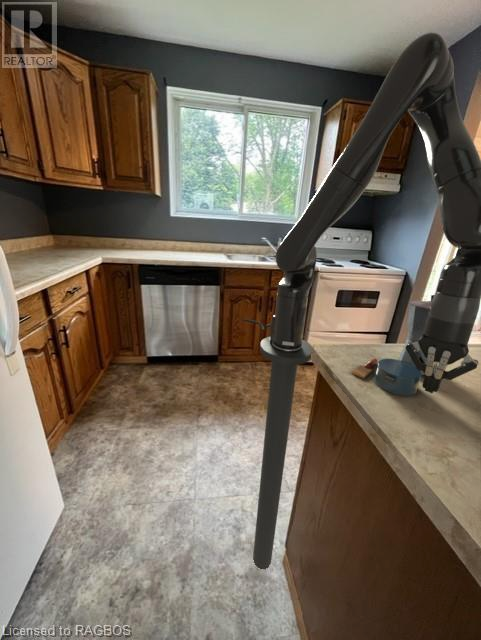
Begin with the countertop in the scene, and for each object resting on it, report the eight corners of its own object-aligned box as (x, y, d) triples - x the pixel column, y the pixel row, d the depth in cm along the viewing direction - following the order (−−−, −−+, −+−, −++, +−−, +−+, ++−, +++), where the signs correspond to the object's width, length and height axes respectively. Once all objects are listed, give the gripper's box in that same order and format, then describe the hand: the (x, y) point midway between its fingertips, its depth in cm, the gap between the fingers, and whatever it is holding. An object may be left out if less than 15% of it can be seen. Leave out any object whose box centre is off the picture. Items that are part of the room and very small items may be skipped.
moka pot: (408, 354, 80) (427, 288, 73) (459, 383, 67) (489, 305, 60) (381, 356, 78) (399, 289, 71) (429, 387, 64) (456, 306, 57)
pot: (365, 385, 64) (369, 368, 62) (384, 368, 72) (388, 353, 70) (407, 403, 58) (412, 385, 56) (423, 383, 66) (428, 367, 64)
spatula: (363, 378, 66) (364, 373, 66) (351, 373, 68) (352, 368, 68) (380, 364, 74) (381, 360, 73) (369, 360, 76) (370, 355, 75)
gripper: (497, 320, 52) (470, 397, 57) (418, 305, 61) (402, 373, 66) (493, 329, 47) (463, 412, 53) (408, 311, 56) (391, 384, 62)
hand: (429, 390), depth 59 cm, fingers closed
